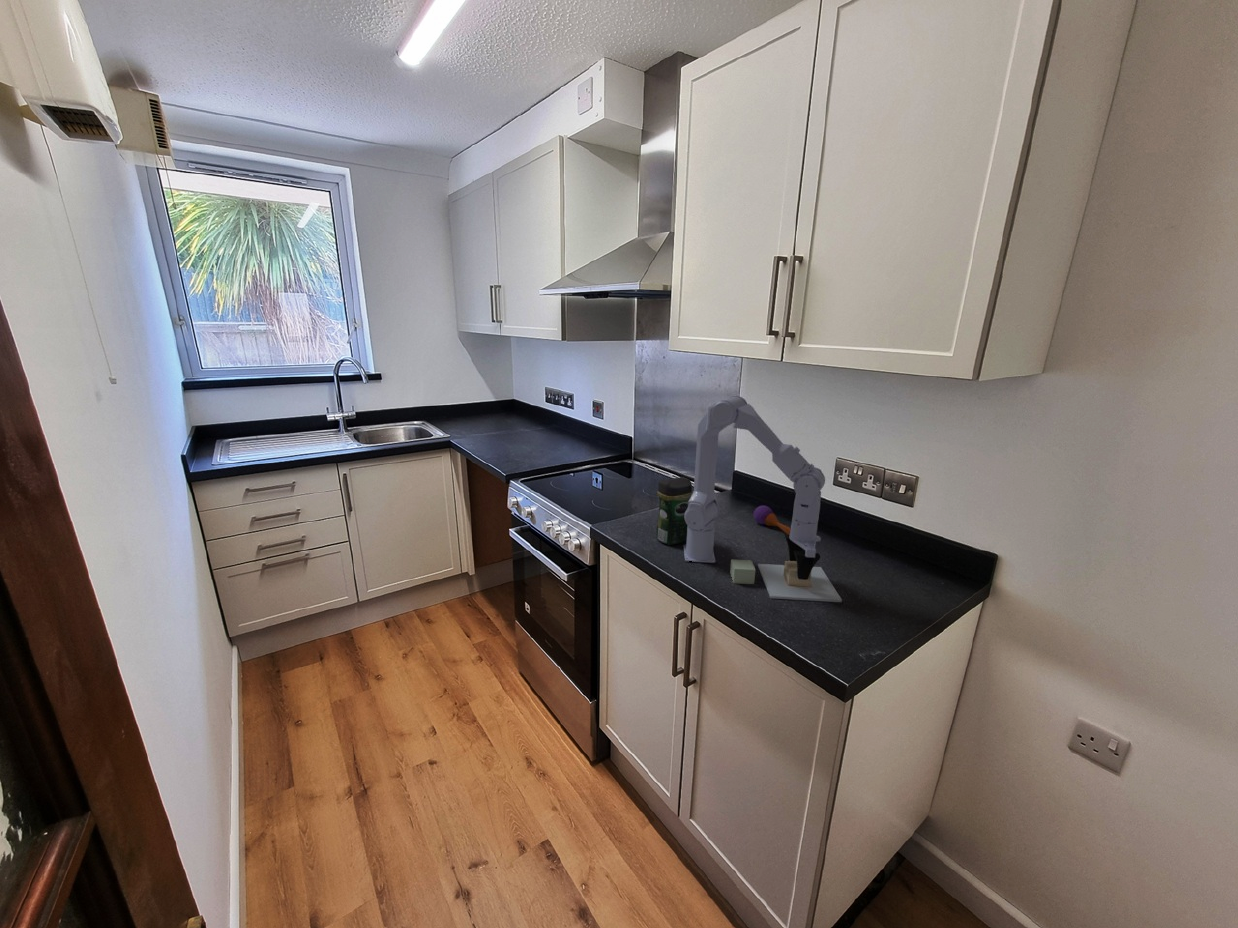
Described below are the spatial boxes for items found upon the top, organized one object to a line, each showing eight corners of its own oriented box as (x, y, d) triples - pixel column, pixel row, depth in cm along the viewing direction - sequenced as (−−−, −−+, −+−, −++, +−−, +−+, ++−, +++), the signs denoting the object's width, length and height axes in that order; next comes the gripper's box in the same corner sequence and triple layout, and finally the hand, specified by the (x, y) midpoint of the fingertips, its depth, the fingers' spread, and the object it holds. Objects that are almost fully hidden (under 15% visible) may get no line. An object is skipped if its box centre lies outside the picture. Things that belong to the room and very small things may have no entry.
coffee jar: (677, 531, 153) (680, 472, 148) (694, 541, 147) (698, 480, 142) (651, 537, 149) (653, 477, 143) (666, 548, 142) (669, 485, 137)
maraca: (795, 534, 143) (749, 506, 160) (794, 551, 146) (749, 522, 163) (811, 527, 145) (764, 500, 162) (810, 544, 148) (764, 516, 165)
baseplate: (757, 565, 133) (758, 563, 133) (820, 569, 132) (820, 567, 131) (770, 598, 117) (770, 595, 117) (841, 602, 116) (841, 599, 116)
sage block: (729, 573, 129) (731, 559, 128) (749, 574, 129) (751, 560, 127) (733, 583, 124) (734, 568, 123) (753, 584, 124) (755, 569, 123)
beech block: (783, 575, 127) (785, 560, 126) (803, 576, 127) (805, 561, 125) (788, 585, 122) (790, 570, 121) (809, 586, 122) (811, 571, 121)
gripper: (832, 532, 113) (824, 587, 116) (813, 508, 126) (807, 558, 130) (799, 530, 113) (793, 585, 117) (784, 507, 127) (779, 556, 131)
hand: (798, 571), depth 124 cm, fingers open, 7 cm apart
